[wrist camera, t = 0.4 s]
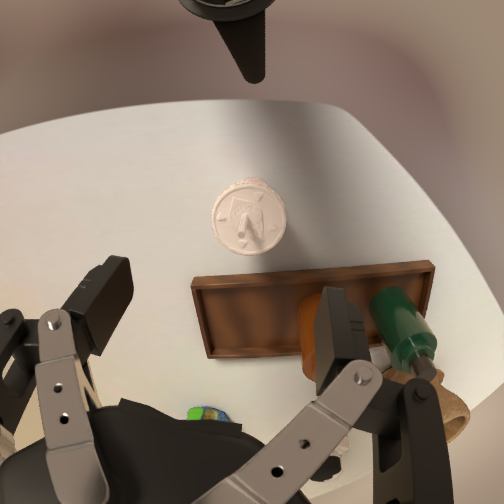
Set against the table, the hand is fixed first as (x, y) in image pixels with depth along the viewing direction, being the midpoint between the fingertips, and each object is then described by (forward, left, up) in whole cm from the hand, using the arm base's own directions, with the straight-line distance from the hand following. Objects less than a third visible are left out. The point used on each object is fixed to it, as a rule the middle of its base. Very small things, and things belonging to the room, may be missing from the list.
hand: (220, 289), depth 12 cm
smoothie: (+1, +1, -24) cm, 24 cm away
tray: (+11, +16, -24) cm, 30 cm away
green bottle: (+6, +24, -23) cm, 34 cm away
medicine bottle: (+35, +32, -24) cm, 53 cm away
